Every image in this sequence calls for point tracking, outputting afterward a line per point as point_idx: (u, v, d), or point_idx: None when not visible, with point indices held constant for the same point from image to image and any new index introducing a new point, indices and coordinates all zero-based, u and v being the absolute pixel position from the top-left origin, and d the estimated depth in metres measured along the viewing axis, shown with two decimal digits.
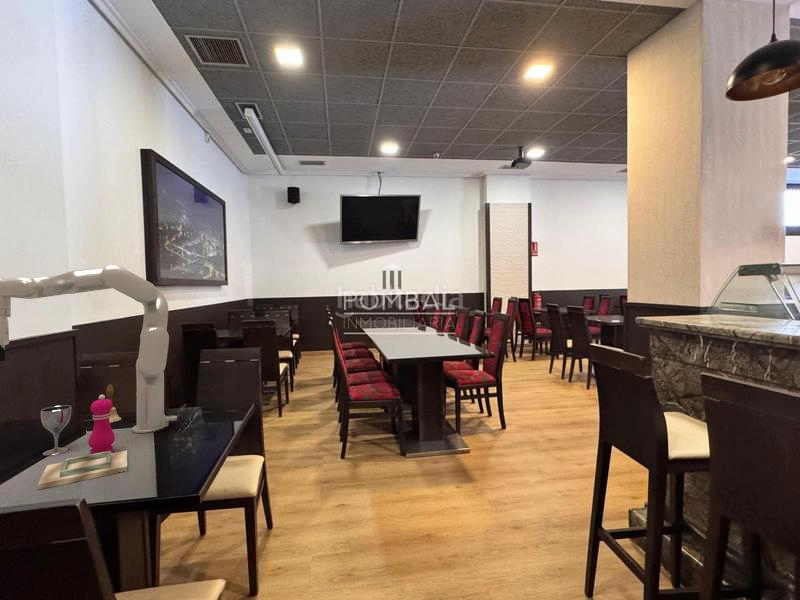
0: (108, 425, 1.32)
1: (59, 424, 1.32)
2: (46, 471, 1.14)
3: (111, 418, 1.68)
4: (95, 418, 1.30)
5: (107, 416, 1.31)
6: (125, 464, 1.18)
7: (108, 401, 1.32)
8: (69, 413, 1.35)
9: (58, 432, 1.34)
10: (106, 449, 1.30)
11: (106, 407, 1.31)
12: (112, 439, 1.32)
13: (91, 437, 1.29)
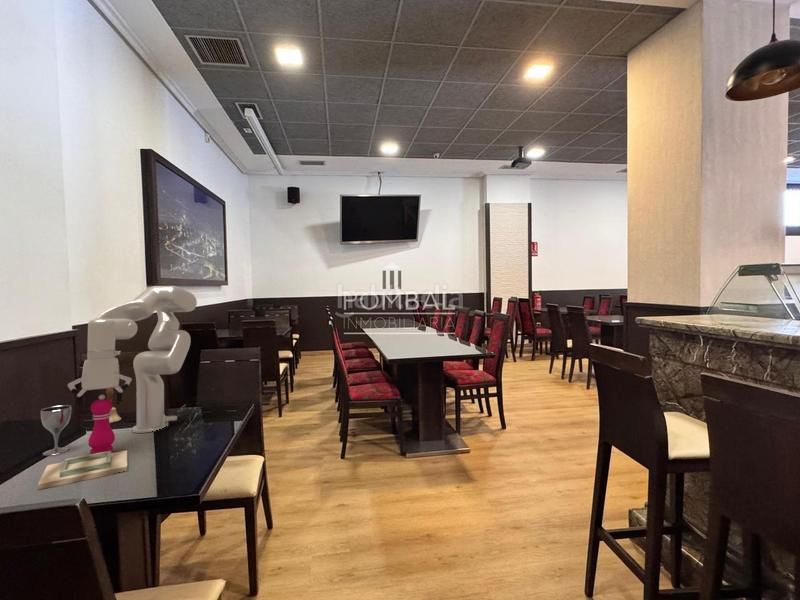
0: (108, 425, 1.32)
1: (59, 424, 1.32)
2: (46, 471, 1.14)
3: (111, 418, 1.68)
4: (95, 418, 1.30)
5: (107, 416, 1.31)
6: (125, 464, 1.18)
7: (108, 401, 1.32)
8: (69, 413, 1.35)
9: (58, 432, 1.34)
10: (106, 449, 1.30)
11: (106, 407, 1.31)
12: (112, 439, 1.32)
13: (91, 437, 1.29)
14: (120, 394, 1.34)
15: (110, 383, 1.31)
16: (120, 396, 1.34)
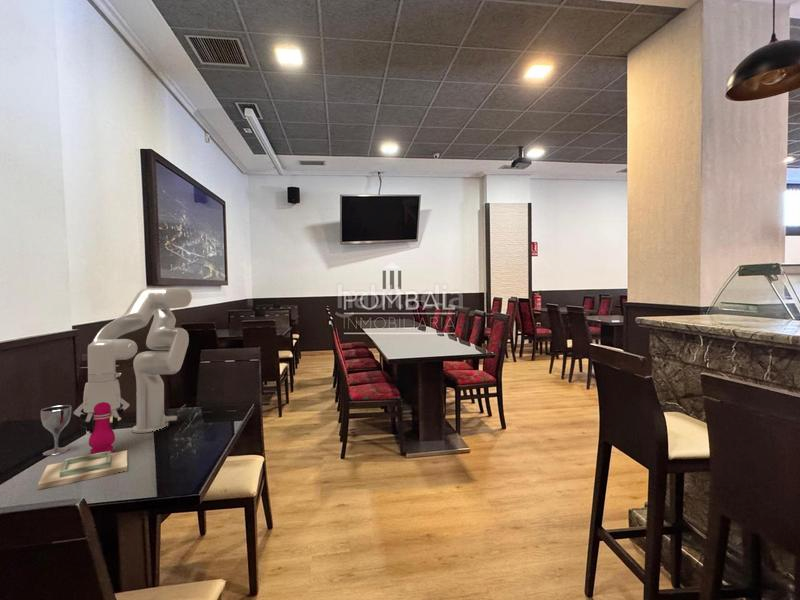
0: (108, 425, 1.32)
1: (59, 424, 1.32)
2: (46, 471, 1.14)
3: (111, 418, 1.68)
4: (96, 418, 1.30)
5: (108, 416, 1.32)
6: (125, 464, 1.18)
7: None
8: (69, 413, 1.35)
9: (58, 432, 1.34)
10: (106, 449, 1.30)
11: (107, 406, 1.31)
12: (112, 439, 1.32)
13: (91, 437, 1.29)
14: (116, 419, 1.34)
15: (111, 406, 1.32)
16: (116, 421, 1.34)
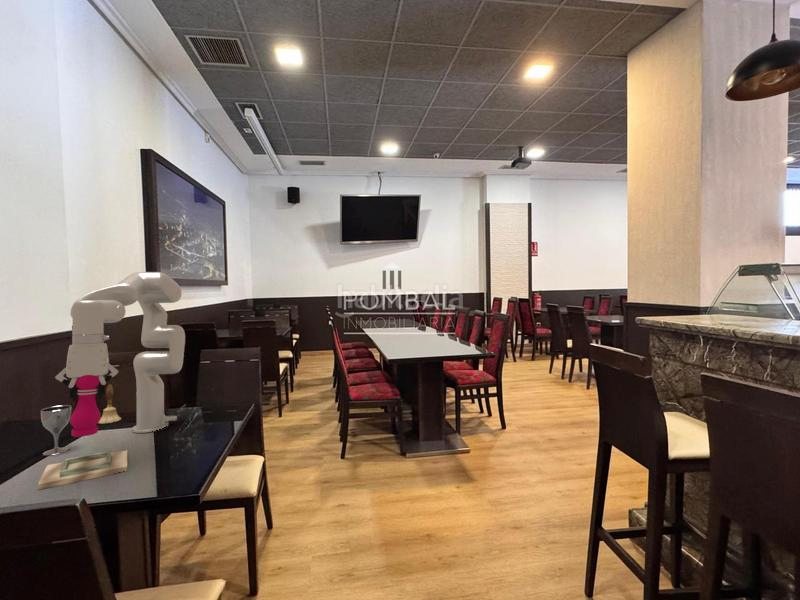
0: (94, 402, 1.19)
1: (59, 424, 1.32)
2: (46, 471, 1.14)
3: (111, 418, 1.68)
4: (79, 393, 1.16)
5: (93, 392, 1.18)
6: (125, 464, 1.18)
7: None
8: (69, 413, 1.35)
9: (58, 432, 1.34)
10: (90, 429, 1.17)
11: (93, 381, 1.17)
12: (97, 418, 1.18)
13: (74, 414, 1.15)
14: (103, 387, 1.21)
15: (98, 371, 1.19)
16: (103, 389, 1.21)
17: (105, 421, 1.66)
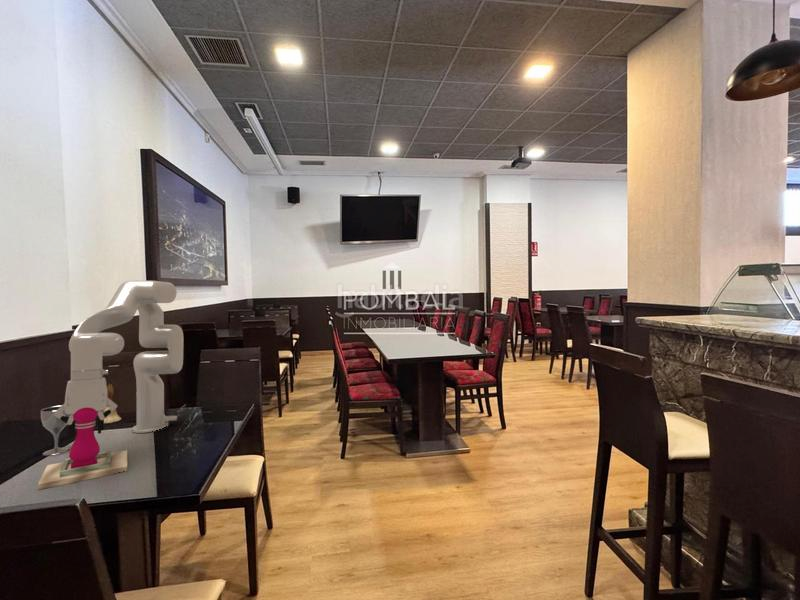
0: (92, 435, 1.17)
1: (59, 424, 1.32)
2: (46, 471, 1.14)
3: (111, 418, 1.68)
4: (77, 427, 1.15)
5: (91, 425, 1.17)
6: (125, 464, 1.18)
7: None
8: None
9: (58, 432, 1.34)
10: (89, 462, 1.16)
11: (91, 414, 1.16)
12: (96, 451, 1.17)
13: (72, 448, 1.14)
14: (102, 422, 1.19)
15: (96, 406, 1.18)
16: (102, 424, 1.19)
17: (105, 421, 1.66)
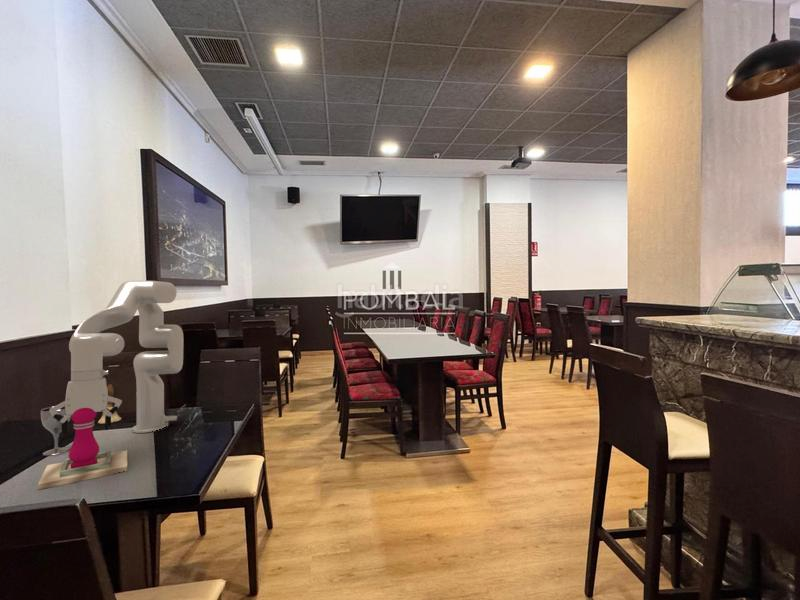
0: (91, 435, 1.17)
1: (59, 424, 1.32)
2: (46, 471, 1.14)
3: (111, 417, 1.68)
4: (76, 427, 1.15)
5: (90, 425, 1.16)
6: (125, 464, 1.18)
7: None
8: None
9: (58, 432, 1.34)
10: (89, 462, 1.16)
11: (89, 414, 1.16)
12: (96, 451, 1.17)
13: (71, 449, 1.14)
14: (109, 418, 1.21)
15: (97, 407, 1.18)
16: (109, 420, 1.21)
17: None
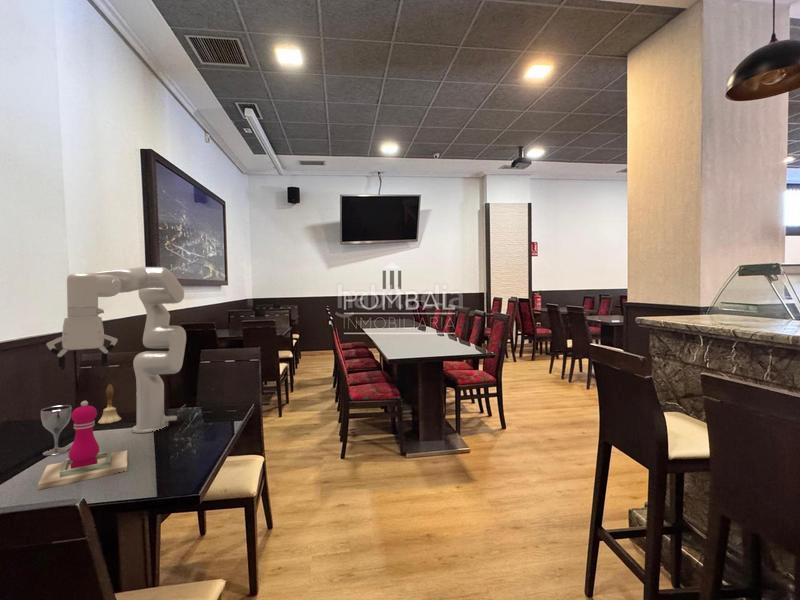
0: (91, 435, 1.17)
1: (59, 424, 1.32)
2: (46, 471, 1.14)
3: (111, 418, 1.68)
4: (76, 427, 1.15)
5: (90, 425, 1.17)
6: (125, 464, 1.18)
7: (91, 408, 1.17)
8: (69, 413, 1.35)
9: (58, 432, 1.34)
10: (89, 462, 1.16)
11: (89, 414, 1.16)
12: (96, 451, 1.17)
13: (72, 449, 1.14)
14: (105, 355, 1.24)
15: (93, 343, 1.21)
16: (105, 357, 1.24)
17: (105, 421, 1.66)
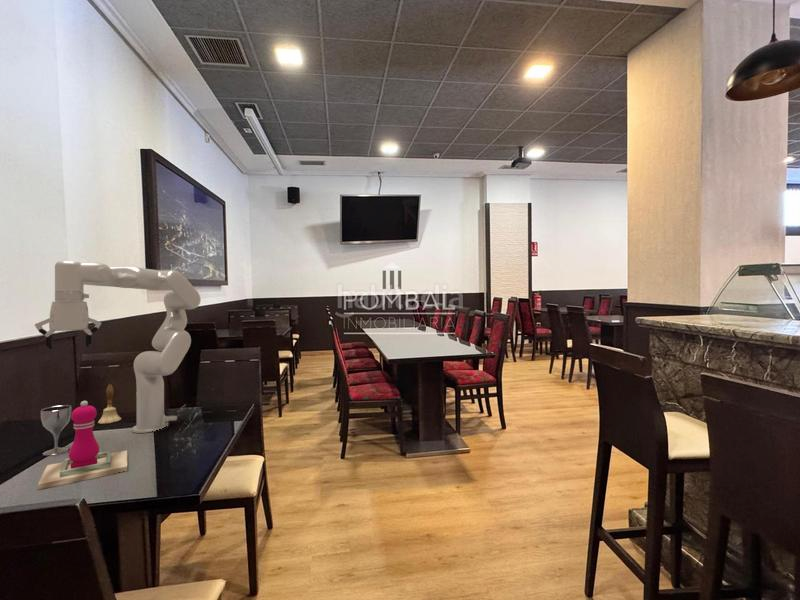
0: (91, 435, 1.17)
1: (59, 424, 1.32)
2: (46, 471, 1.14)
3: (111, 418, 1.68)
4: (76, 427, 1.15)
5: (90, 425, 1.17)
6: (125, 464, 1.18)
7: (91, 408, 1.17)
8: (69, 413, 1.35)
9: (58, 432, 1.34)
10: (89, 462, 1.16)
11: (89, 414, 1.16)
12: (96, 451, 1.17)
13: (72, 449, 1.14)
14: (89, 337, 1.34)
15: (78, 325, 1.32)
16: (89, 339, 1.34)
17: (105, 421, 1.66)
